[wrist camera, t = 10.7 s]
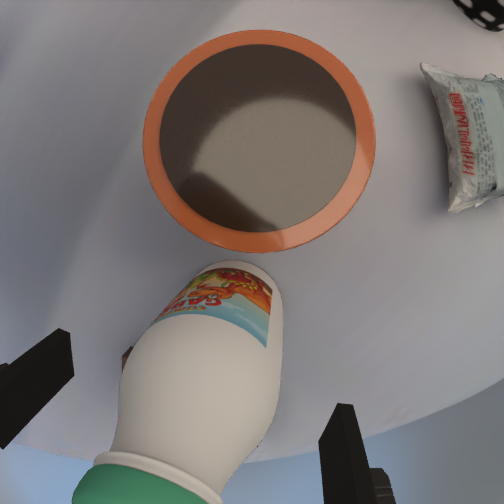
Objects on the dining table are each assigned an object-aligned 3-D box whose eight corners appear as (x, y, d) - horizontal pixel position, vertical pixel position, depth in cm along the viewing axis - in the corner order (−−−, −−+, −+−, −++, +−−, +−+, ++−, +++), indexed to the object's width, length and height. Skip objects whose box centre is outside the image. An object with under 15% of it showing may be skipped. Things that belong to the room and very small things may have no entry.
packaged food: (434, 210, 21) (466, 216, 17) (410, 69, 19) (435, 47, 14) (506, 203, 20) (540, 208, 16) (485, 78, 18) (515, 64, 13)
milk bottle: (303, 300, 24) (332, 557, 5) (242, 361, 26) (184, 582, 6) (226, 237, 24) (44, 413, 4) (171, 307, 25) (16, 487, 6)
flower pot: (181, 211, 24) (124, 227, 15) (209, 75, 21) (171, 22, 12) (323, 242, 23) (347, 277, 14) (352, 101, 20) (390, 56, 12)
